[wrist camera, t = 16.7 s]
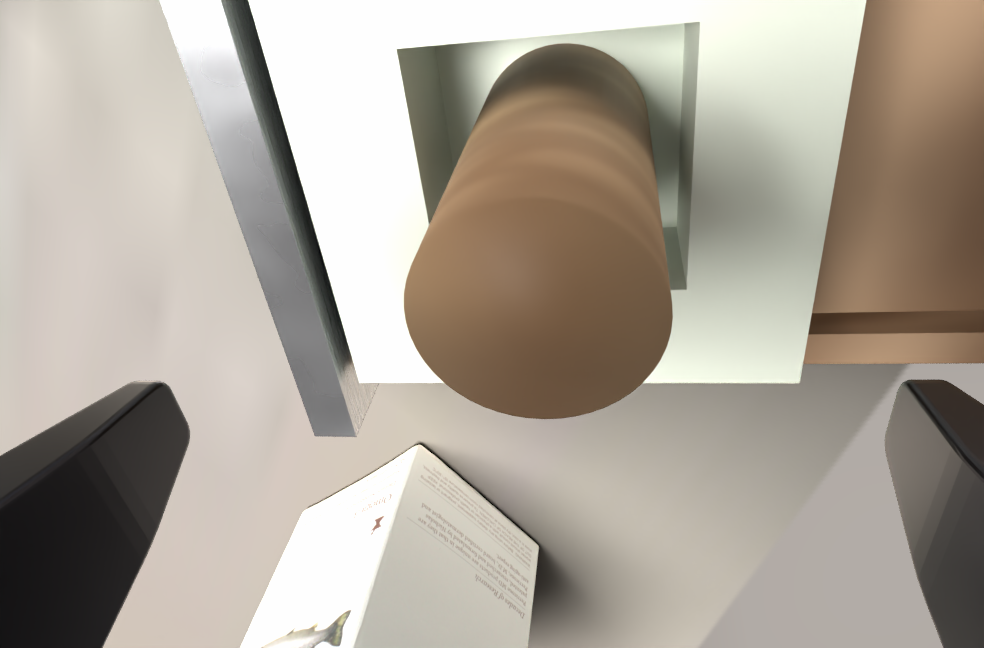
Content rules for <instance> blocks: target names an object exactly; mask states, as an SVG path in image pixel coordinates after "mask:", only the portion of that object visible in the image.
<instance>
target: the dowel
mask: <svg viewBox="0 0 984 648" xmlns="http://www.w3.org/2000/svg"><path fill="white" fill-rule="evenodd" d="M404 313H405V320H406V324H407V328H408V331H409V334H410V337H411V339H412V341H413V343H414V345H415V348H416V349H417V351H418V353H419V354H420V356H421V357H422V359H423V360H424V362H425V363H426V364H427V365H428V367H429V368H430V369H431V370H432V371H433V373H434V374H435V375H437V376H438V377H439V378H440V379H441V380H442V381H443V382H444V383H445V384H446V385H448V386H449V387H450V388H452V389H453V390H454V391H456V392H457V393H459V394H460V395H462V396H464V397H465V398H467V399H469V400H471V401H473V402H475V403H477V404H479V405H481V406H483V407H486V408H489V409H492V410H494V411H497V412H501V413H505V414H509V415H512V416H518V417H525V418H536V419H557V418H567V417H574V416H579V415H583V414H587V413H591V412H594V411H596V410H599V409H602V408H605V407H607V406H609V405H611V404H613V403H615V402H617V401H619V400H621V399H622V398H624V397H625V396H627V395H628V394H630V393H631V392H633V391H634V390H635V389H636V388H637V387H638V386H640V385H641V384H642V383H643V382H644V381H645V380H646V379H647V378H648V376H649V375H650V374H651V373H652V372H653V371H654V369H655V368H656V366H657V365H658V363H659V362H660V360H661V358H662V356H663V354H664V352H665V350H666V348H667V345H668V341H669V338H670V334H671V329H672V320H673V311H672V298H671V290H670V282H669V274H668V267H667V259H666V251H665V243H664V235H663V227H662V220H661V212H660V204H659V196H658V188H657V180H656V173H655V165H654V157H653V149H652V141H651V134H650V126H649V118H648V111H647V106H646V102H645V99H644V96H643V93H642V91H641V89H640V87H639V85H638V83H637V82H636V80H635V79H634V77H633V76H632V75H631V73H630V72H629V71H628V70H627V69H626V68H625V67H624V66H623V65H622V64H621V63H620V62H618V61H617V60H616V59H615V58H613V57H611V56H610V55H608V54H606V53H605V52H603V51H600V50H598V49H595V48H593V47H589V46H585V45H580V44H572V43H561V44H553V45H547V46H543V47H540V48H537V49H534V50H532V51H530V52H528V53H526V54H524V55H522V56H521V57H519V58H518V59H516V60H515V61H514V62H512V63H511V64H510V65H509V66H508V67H507V68H506V69H505V70H504V71H503V72H502V73H501V74H500V75H499V77H498V78H497V80H496V81H495V83H494V84H493V86H492V88H491V90H490V92H489V94H488V96H487V98H486V100H485V103H484V105H483V107H482V109H481V111H480V114H479V116H478V118H477V120H476V123H475V125H474V127H473V129H472V131H471V134H470V136H469V138H468V140H467V142H466V145H465V147H464V149H463V151H462V154H461V156H460V158H459V160H458V162H457V165H456V167H455V169H454V171H453V174H452V176H451V178H450V180H449V182H448V185H447V187H446V189H445V191H444V193H443V196H442V198H441V200H440V202H439V205H438V207H437V209H436V211H435V213H434V216H433V218H432V220H431V222H430V224H429V227H428V229H427V231H426V233H425V236H424V238H423V240H422V242H421V244H420V247H419V249H418V251H417V253H416V255H415V258H414V260H413V262H412V264H411V267H410V270H409V273H408V276H407V279H406V284H405V290H404Z"/></svg>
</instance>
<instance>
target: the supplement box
mask: <svg viewBox="0 0 984 648" xmlns="http://www.w3.org/2000/svg"><path fill="white" fill-rule="evenodd" d="M538 552H539V546H538V545H537V544H536V543H535V542H534V541H533V540H532V539H531V538H530V537H528V536H527V535H526V534H525V533H524V532H523V531H522V530H521V529H519V528H518V527H517V526H516V525H515V524H514V523H512V522H511V521H510V520H509V519H508V518H506V517H505V516H504V515H503V514H502V513H501V512H500V511H499V510H497V509H496V508H495V507H494V506H493V505H492V504H490V503H489V502H488V501H487V500H486V499H485V498H483V497H482V496H481V495H480V494H479V493H478V492H477V491H476V490H475V489H473V488H472V487H471V486H470V485H469V484H467V483H466V482H465V481H464V480H462V479H461V478H460V477H459V476H458V475H457V474H456V473H455V472H453V471H452V470H451V469H450V468H449V467H447V466H446V465H445V464H444V463H443V462H442V461H441V460H440V459H438V458H437V457H436V456H435V455H434V454H432V453H431V452H429V451H428V450H427V449H426V448H425V447H423V446H421V445H416V446H414V447H412V448H411V449H409V450H408V451H406V452H405V453H403V454H402V455H400V456H399V457H397V458H396V459H394V460H393V461H391V462H390V463H388V464H387V465H385V466H383V467H382V468H380V469H378V470H377V471H375V472H374V473H372V474H370V475H369V476H367V477H365V478H363V479H362V480H360V481H358V482H356V483H354V484H352V485H351V486H349V487H347V488H345V489H344V490H342V491H340V492H338V493H336V494H335V495H333V496H331V497H329V498H327V499H325V500H323V501H322V502H320V503H318V504H316V505H314V506H312V507H310V508H308V509H306V510H304V511H303V513H302V515H301V517H300V519H299V521H298V523H297V525H296V528H295V530H294V532H293V534H292V537H291V539H290V541H289V543H288V545H287V547H286V549H285V551H284V553H283V555H282V558H281V560H280V562H279V564H278V566H277V568H276V571H275V573H274V575H273V577H272V579H271V581H270V583H269V586H268V588H267V590H266V593H265V595H264V597H263V599H262V601H261V603H260V605H259V607H258V610H257V612H256V614H255V616H254V618H253V621H252V623H251V625H250V627H249V629H248V631H247V633H246V636H245V638H244V640H243V642H242V644H241V647H240V648H528V642H529V633H530V624H531V615H532V606H533V597H534V588H535V579H536V570H537V560H538Z"/></svg>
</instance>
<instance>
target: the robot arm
mask: <svg viewBox="0 0 984 648" xmlns="http://www.w3.org/2000/svg"><path fill="white" fill-rule="evenodd" d="M189 439H190V429H189V425H188V423H187V421H186V419H185V417H184V415H183V413H182V411H181V409H180V406H179V404H178V402H177V400H176V398H175V396H174V394H173V392H172V390H171V389H170V387H169V386H168V385H167V384H165V383H164V382H161V381H134V382H131V383H129V384H127V385H125V386H123V387H122V388H120V389H118V390H116V391H114V392H113V393H111V394H109V395H107V396H106V397H104V398H102V399H100V400H98V401H97V402H95V403H93V404H91V405H90V406H88V407H86V408H84V409H82V410H81V411H79V412H77V413H75V414H74V415H72V416H70V417H68V418H66V419H65V420H63V421H61V422H59V423H58V424H56V425H54V426H52V427H50V428H49V429H47V430H45V431H43V432H42V433H40V434H38V435H36V436H35V437H33V438H31V439H29V440H27V441H26V442H24V443H22V444H20V445H19V446H17V447H15V448H13V449H11V450H10V451H8V452H6V453H4V454H3V455H1V456H0V648H103V646H104V644H105V642H106V639H107V637H108V635H109V633H110V631H111V629H112V627H113V625H114V623H115V621H116V619H117V617H118V615H119V612H120V610H121V608H122V606H123V604H124V602H125V600H126V598H127V596H128V594H129V592H130V590H131V588H132V585H133V583H134V581H135V579H136V577H137V575H138V573H139V571H140V569H141V567H142V565H143V563H144V560H145V558H146V556H147V554H148V552H149V549H150V547H151V545H152V542H153V540H154V537H155V535H156V532H157V530H158V527H159V524H160V522H161V519H162V516H163V513H164V511H165V508H166V505H167V502H168V500H169V497H170V494H171V491H172V489H173V486H174V483H175V480H176V478H177V475H178V472H179V469H180V467H181V464H182V461H183V458H184V456H185V453H186V450H187V447H188V444H189ZM885 451H886V457H887V461H888V464H889V469H890V472H891V477H892V481H893V484H894V489H895V493H896V497H897V501H898V505H899V509H900V513H901V517H902V521H903V525H904V529H905V533H906V536H907V540H908V545H909V549H910V553H911V556H912V560H913V564H914V568H915V571H916V575H917V578H918V581H919V584H920V587H921V589H922V593H923V596H924V598H925V601H926V604H927V606H928V609H929V612H930V614H931V617H932V619H933V622H934V625H935V627H936V630H937V632H938V635H939V638H940V640H941V643H942V645H943V648H984V405H983V404H982V403H980V402H979V401H977V400H976V399H974V398H972V397H971V396H969V395H968V394H966V393H965V392H963V391H962V390H960V389H959V388H957V387H956V386H954V385H953V384H951V383H949V382H947V381H944V380H907V381H906V382H903V383H902V384H901V386H900V387H899V389H898V392H897V395H896V399H895V402H894V406H893V410H892V413H891V416H890V420H889V424H888V427H887V431H886V435H885Z"/></svg>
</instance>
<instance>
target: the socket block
mask: <svg viewBox="0 0 984 648" xmlns="http://www.w3.org/2000/svg"><path fill="white" fill-rule="evenodd" d="M248 1H249V4H250V8H251V11H252V14H253V18H254V21H255V25H256V28H257V32H258V35H259V39H260V42H261V45H262V49H263V52H264V56H265V59H266V63H267V66H268V70H269V73H270V77H271V80H272V83H273V87H274V90H275V94H276V97H277V101H278V104H279V108H280V111H281V114H282V118H283V121H284V125H285V128H286V132H287V135H288V139H289V142H290V145H291V149H292V152H293V156H294V159H295V163H296V166H297V170H298V173H299V176H300V180H301V183H302V187H303V190H304V194H305V197H306V201H307V204H308V208H309V211H310V214H311V218H312V221H313V225H314V228H315V232H316V235H317V239H318V242H319V245H320V249H321V252H322V256H323V259H324V263H325V266H326V270H327V273H328V276H329V280H330V283H331V287H332V290H333V294H334V297H335V301H336V304H337V307H338V311H339V314H340V318H341V321H342V325H343V328H344V332H345V335H346V339H347V342H348V345H349V349H350V352H351V356H352V359H353V363H354V366H355V370H356V373H357V376H358V380H359V383H444V382H443V381H442V380H441V379H440V378H439V377H438V376H437V375H435V374H434V373H433V371H432V370H431V369H430V368H429V367H428V365H427V364H426V363H425V362H424V360H423V359H422V357H421V356H420V354H419V353H418V351H417V349H416V348H415V345H414V343H413V341H412V339H411V337H410V334H409V331H408V328H407V324H406V320H405V313H404V290H405V284H406V279H407V276H408V273H409V270H410V267H411V264H412V262H413V260H414V258H415V255H416V253H417V251H418V249H419V247H420V244H421V242H422V240H423V238H424V236H425V233H426V231H427V229H428V227H429V224H430V222H431V220H432V218H433V216H434V213H435V211H436V209H437V207H438V205H439V202H440V200H441V198H442V196H443V193H444V191H445V189H446V187H447V185H448V182H449V180H450V178H451V176H452V174H453V171H454V169H455V167H456V165H457V162H458V160H459V158H460V156H461V154H462V151H463V149H464V147H465V145H466V142H467V140H468V138H469V136H470V134H471V131H472V129H473V127H474V125H475V123H476V120H477V118H478V116H479V114H480V111H481V109H482V107H483V105H484V103H485V100H486V98H487V96H488V94H489V92H490V90H491V88H492V86H493V84H494V83H495V81H496V80H497V78H498V77H499V75H500V74H501V73H502V72H503V71H504V70H505V69H506V68H507V67H508V66H509V65H510V64H511V63H512V62H514V61H515V60H516V59H518V58H519V57H521V56H522V55H524V54H526V53H528V52H530V51H532V50H534V49H537V48H540V47H543V46H547V45H553V44H561V43H572V44H580V45H585V46H589V47H593V48H595V49H598V50H600V51H603V52H605V53H606V54H608V55H610V56H611V57H613V58H615V59H616V60H617V61H618V62H620V63H621V64H622V65H623V66H624V67H625V68H626V69H627V70H628V71H629V72H630V73H631V75H632V76H633V77H634V79H635V80H636V82H637V83H638V85H639V87H640V89H641V91H642V93H643V96H644V99H645V102H646V106H647V111H648V118H649V126H650V134H651V141H652V149H653V157H654V165H655V173H656V180H657V188H658V196H659V204H660V212H661V220H662V227H663V235H664V243H665V251H666V259H667V267H668V274H669V282H670V290H671V298H672V311H673V320H672V329H671V334H670V338H669V341H668V345H667V348H666V350H665V352H664V354H663V356H662V358H661V360H660V362H659V363H658V365H657V366H656V368H655V369H654V371H653V372H652V373H651V374H650V375H649V376H648V378H647V379H646V380H645V381H644V382H643V383H800V378H801V372H802V367H803V361H804V355H805V349H806V344H807V338H808V332H809V327H810V321H811V315H812V309H813V304H814V298H815V292H816V286H817V281H818V275H819V269H820V263H821V258H822V252H823V246H824V241H825V235H826V229H827V223H828V218H829V212H830V206H831V200H832V195H833V189H834V183H835V177H836V172H837V166H838V160H839V155H840V149H841V143H842V137H843V132H844V126H845V120H846V114H847V109H848V103H849V97H850V91H851V86H852V80H853V74H854V69H855V63H856V57H857V51H858V46H859V40H860V34H861V28H862V23H863V17H864V11H865V5H866V0H248Z"/></svg>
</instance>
